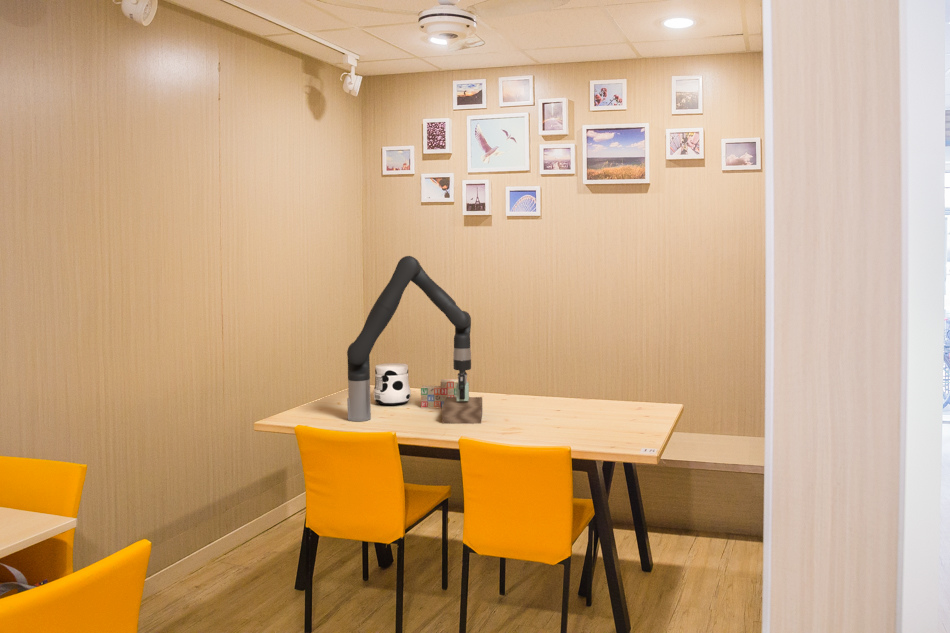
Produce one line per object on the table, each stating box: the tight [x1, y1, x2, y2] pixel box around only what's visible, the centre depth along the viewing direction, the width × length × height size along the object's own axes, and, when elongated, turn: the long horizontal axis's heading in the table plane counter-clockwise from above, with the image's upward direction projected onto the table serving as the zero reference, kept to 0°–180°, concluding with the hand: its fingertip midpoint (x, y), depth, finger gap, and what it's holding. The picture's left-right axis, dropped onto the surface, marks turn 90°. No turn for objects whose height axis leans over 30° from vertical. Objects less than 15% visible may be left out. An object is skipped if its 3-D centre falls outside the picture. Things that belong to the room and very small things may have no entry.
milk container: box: [373, 362, 412, 406], centre depth 354 cm, size 17×17×18 cm
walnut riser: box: [441, 396, 483, 424], centre depth 323 cm, size 16×20×7 cm
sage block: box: [456, 382, 470, 401], centre depth 322 cm, size 5×5×7 cm
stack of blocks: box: [420, 378, 469, 409], centre depth 346 cm, size 21×6×12 cm, turn 86°
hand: (462, 397), depth 322 cm, fingers closed on sage block, 5 cm apart
